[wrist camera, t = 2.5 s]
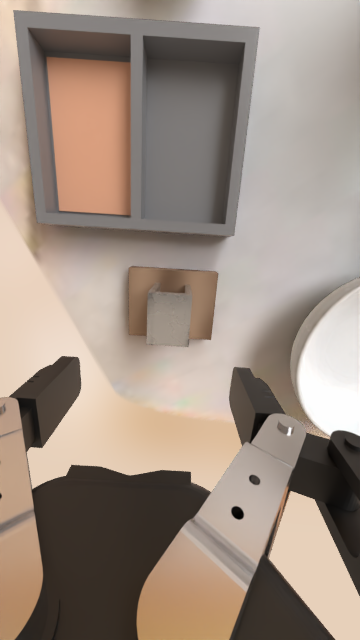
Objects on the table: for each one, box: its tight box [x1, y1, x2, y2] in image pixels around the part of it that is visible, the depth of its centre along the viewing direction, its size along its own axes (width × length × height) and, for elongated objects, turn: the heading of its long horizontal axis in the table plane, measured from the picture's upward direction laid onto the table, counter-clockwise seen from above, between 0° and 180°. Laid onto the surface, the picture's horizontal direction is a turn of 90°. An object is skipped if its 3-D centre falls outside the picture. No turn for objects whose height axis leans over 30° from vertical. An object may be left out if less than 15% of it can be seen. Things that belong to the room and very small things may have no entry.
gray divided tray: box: [13, 10, 260, 237], centre depth 23 cm, size 20×16×3 cm
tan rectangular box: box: [129, 266, 218, 340], centre depth 29 cm, size 10×8×2 cm
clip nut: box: [147, 283, 192, 347], centre depth 25 cm, size 4×5×6 cm
